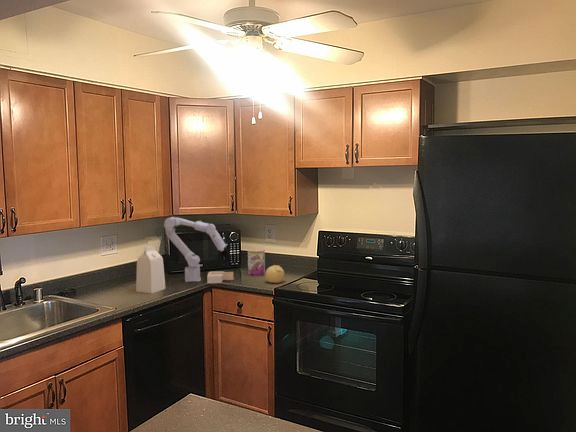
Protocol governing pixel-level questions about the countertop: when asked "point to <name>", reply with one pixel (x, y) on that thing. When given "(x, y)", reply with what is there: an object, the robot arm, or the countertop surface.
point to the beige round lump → (274, 274)
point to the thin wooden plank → (225, 275)
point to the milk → (150, 271)
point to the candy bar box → (256, 262)
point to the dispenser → (214, 277)
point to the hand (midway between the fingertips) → (229, 259)
